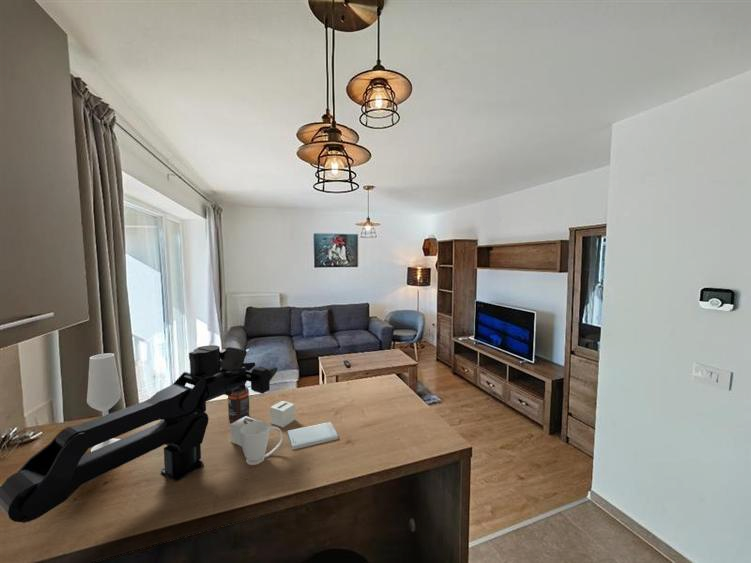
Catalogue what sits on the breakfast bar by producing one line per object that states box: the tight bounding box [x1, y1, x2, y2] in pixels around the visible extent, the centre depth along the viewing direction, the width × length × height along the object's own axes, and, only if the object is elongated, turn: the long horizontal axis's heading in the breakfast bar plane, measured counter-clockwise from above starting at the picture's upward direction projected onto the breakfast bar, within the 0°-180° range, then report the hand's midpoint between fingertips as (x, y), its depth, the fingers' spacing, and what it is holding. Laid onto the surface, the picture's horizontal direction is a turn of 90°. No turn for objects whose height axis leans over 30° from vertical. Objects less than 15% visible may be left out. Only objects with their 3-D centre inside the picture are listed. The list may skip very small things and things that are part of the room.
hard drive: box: [286, 421, 339, 451], centre depth 87 cm, size 2×8×12 cm
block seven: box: [230, 416, 260, 447], centre depth 85 cm, size 5×5×5 cm
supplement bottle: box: [227, 386, 251, 423], centre depth 96 cm, size 6×6×11 cm
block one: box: [269, 400, 296, 428], centre depth 95 cm, size 5×5×5 cm
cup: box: [239, 420, 284, 466], centre depth 77 cm, size 7×10×8 cm
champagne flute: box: [86, 352, 122, 452], centre depth 81 cm, size 7×7×24 cm
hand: (265, 366), depth 94 cm, fingers open, 9 cm apart
